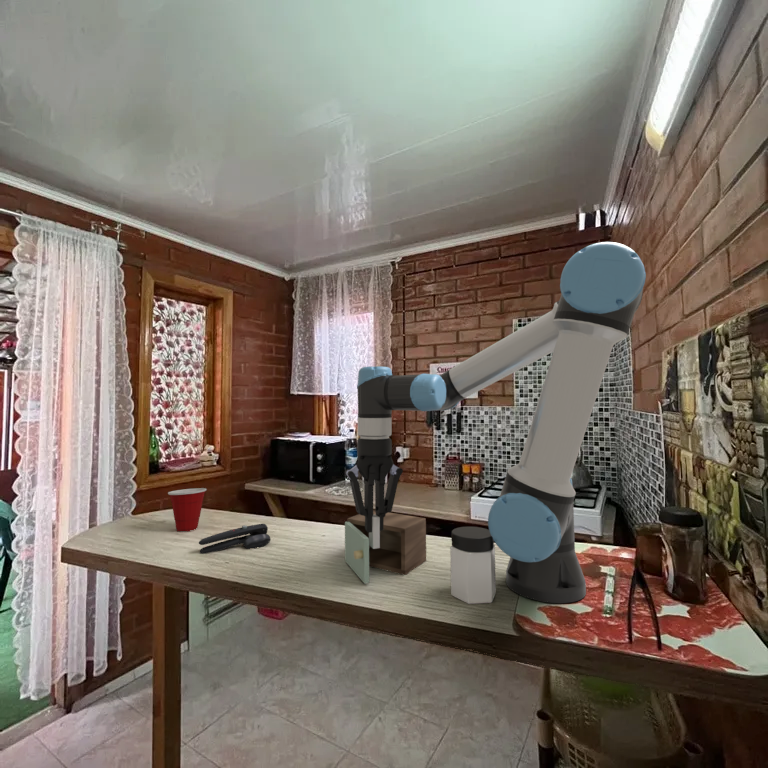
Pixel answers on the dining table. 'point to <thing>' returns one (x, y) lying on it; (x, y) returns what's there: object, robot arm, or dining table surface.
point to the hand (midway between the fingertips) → (374, 546)
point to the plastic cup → (187, 507)
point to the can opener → (253, 540)
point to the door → (357, 551)
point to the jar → (473, 565)
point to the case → (397, 542)
